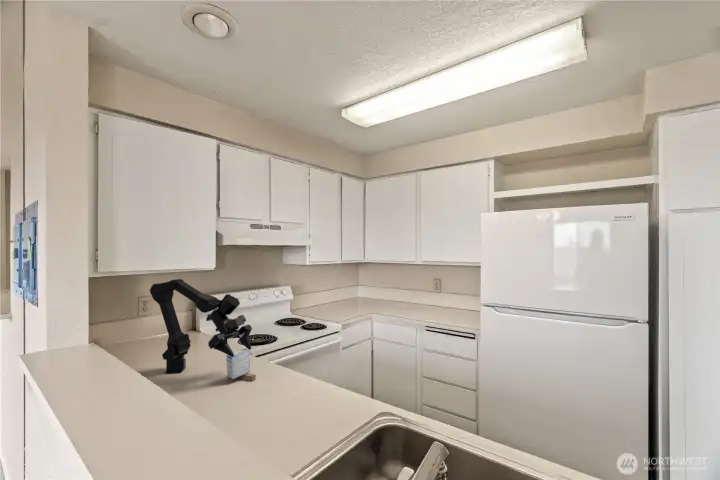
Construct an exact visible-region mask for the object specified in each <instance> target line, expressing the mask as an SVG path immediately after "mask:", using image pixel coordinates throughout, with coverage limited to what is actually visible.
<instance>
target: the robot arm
mask: <svg viewBox="0 0 720 480" xmlns="http://www.w3.org/2000/svg"><path fill="white" fill-rule="evenodd" d="M174 291H176V292H178V293H180V295H182V296H184V297H186V298H187V299H188V300H190V301H191V302H193V303H194V305H195V308H196V309H198V310H199V311H200V312H201V313H202V314H206V313H207V317H206V320H205V321H206V322H210V321H212V323H213V324H214V326H215V327H216V328H215V331H216V334H214V335H213V336H212V337H211V338H210V339H209V340H208V342H207V343H208V345H207V346H208V347H209V349H211V350H216V351H219V352H221V353H224V354H225V355H226V356H227V355H229V356H231V357H233V356H234V354H233V353H234V352H233V350H232V348H231V347H230V345H229V344H228V340H229V339H232V338H235V337H237V339H238V342H240V343H241V344H242V345H243V346H244V348H246V349H247V350H248V351H251V349H252V345H251V342H250V341H251V340H250V333H251V332H252V330H253V327H252V325H250V324H246V325H245V322H246V321H247V318H246V317H245V315H244V314H240V315H239V316H237V317H236V318H229V315H231V314H232V313H234V312H235V310H236V309H237V308H238V307H239V306H240V300H239V298H237V297H235V296H233V295H231V294H230V293H227V294H225V295H224V296H223V298H222V299H218V298H217V297H216V296H214V295H210V294H206V293H203V292H201V291H199V290H198V289H196V288H195V287H193V286H192V285H190V284H188V283H187V282H185V281H184V280H183V279H182V278H177V279H175V278H174V279H171V280H169V281H165V282H159V283H154V284H152V285H151V287H150V289H149V292H150V295H151V297H152V299H153V301H154V302H156V303H157V304H158V305H159V307H160V311H161V315H162V318H163V321H164V325H165V327H166V331H167V334H168V339H167V341H166V346H167V347H166V348H167V349H166V350H165V351H164V352H163V353H162V354H161V356H162V359H163V360H164V361H166V363H165V364H166V365H165V366H166V367H165V368H166V371H165V372H164V374H165V375H169V374H172V375H173V374H181V373H182V372H183V371H184V370H185V369H186V368H187V364H186V363H187V362H186V361H187V360H186V359H187V358H185V356H186V355H188V354H189V353H188V352H189V350H190V348H191V343H192V341H191V339H190V335H189V334H188V333H184V332H183V331H182V329H181V325H180V322H179V320H178V316H177V313H176V309H175V306H174V303H173V298H174ZM209 312H210V313H209ZM240 326H241V327H240ZM217 332H219V333H217Z"/></svg>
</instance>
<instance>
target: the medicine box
mask: <svg viewBox="0 0 720 480" xmlns="http://www.w3.org/2000/svg"><path fill="white" fill-rule="evenodd" d="M233 354H234V356H233V357H231V356H229V355H227V354H226V376H227V377H228V378H230V379H233V380H235V379H237V378H236V377H239V376H241V375H244V374H246V373H251V357H250V356H251V355H250V350H246V349H241V350H238V351H235V352H233Z"/></svg>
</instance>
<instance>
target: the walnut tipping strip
mask: <svg viewBox="0 0 720 480" xmlns="http://www.w3.org/2000/svg"><path fill="white" fill-rule="evenodd" d="M256 378H257V376H256V374H253V373H251V372H249V373H246V374H244V375H241V376H239V377H236V378H235V379H239V380H243V381H246V382H247V381H249V382H255V381H256V380H257V379H256Z"/></svg>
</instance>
